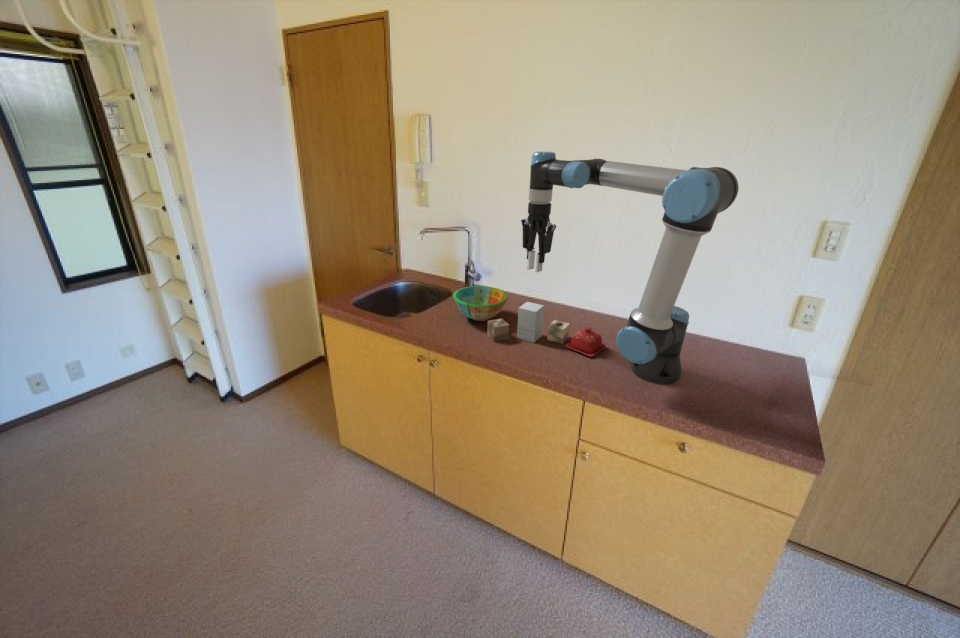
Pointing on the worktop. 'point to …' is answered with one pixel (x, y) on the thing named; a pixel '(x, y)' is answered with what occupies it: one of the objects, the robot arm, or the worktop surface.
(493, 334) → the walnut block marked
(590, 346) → the butter dish
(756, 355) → the worktop surface
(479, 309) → the bowl
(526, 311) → the supplement box
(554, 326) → the beech block marked
